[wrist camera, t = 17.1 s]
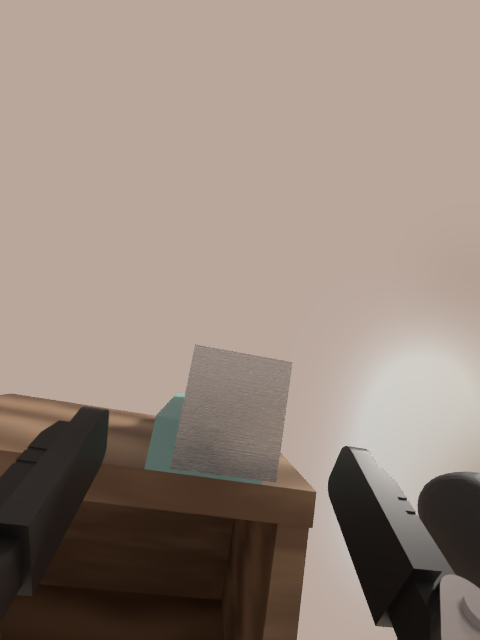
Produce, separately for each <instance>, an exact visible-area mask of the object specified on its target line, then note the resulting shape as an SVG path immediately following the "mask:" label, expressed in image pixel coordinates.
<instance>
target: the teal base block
mask: <svg viewBox="0 0 480 640" xmlns="http://www.w3.org/2000/svg"><path fill="white" fill-rule="evenodd" d="M184 398H185V394H182V393H177V394H176V395H175V396H174V397H173V398H172V399H171V400H170V401H169V403H167V405H166V406H165V407H164V408H163V409H162V410H161V411H160V412H159V413H158V414H157V415H156V418H155V423H154V427H153V432H152V436H151V441H150V446H149V450H148V455H147V459H146V464H145V468H144V469H147V470H155V471H162V472H170V473H177V474H185V475H192V476H200V477H208V478H215V479H223V480H230V481H238V482H245V483H253V484H260V485H261V484H262V481H259V480H252V479H244V478H237V477H229V476H222V475H214V474H207V473H199V472H192V471H184V470H177V469H170V467H171V462H172V457H173V452H174V447H175V442H176V437H177V432H178V427H179V422H180V417H181V412H182V407H183V402H184Z"/></svg>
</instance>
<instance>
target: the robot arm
mask: <svg viewBox="0 0 480 640" xmlns="http://www.w3.org/2000/svg"><path fill="white" fill-rule="evenodd" d="M108 424H109V410H108V409H102V408H95V407H89V406H82V407H81V408H80V409H79V410H78V412H77V413H76V414H75V415H74V417H73V418H72V419H71V420H70V422H68V421H61V420H59V421H57V422H56V423H54V424H53V425H51V426H49V427H48V428H46V429H45V430H43V431H41V432H40V433H39V435H38V436H37V437H36V438H35V439H34V440H33V441H32V442H31V443H30V445H29V446H28V448H27V450H24V451H23V452H22V454H21V455H20V456H19V457H18V458H17V459H16V462H15V463H13V464H12V465H11V466H10V467H9V468H8V469H7V470H6V471H5V472H4V474H3V475H2V476H1V477H0V640H2V631H1V621H2V619H3V617H4V616H5V614H6V612H7V610H8V609H9V607H10V605H11V603H12V602H13V600H14V598H15V596H16V595H21V596H33V594H34V592H35V590H36V588H37V587H38V585H39V583H40V581H41V579H42V577H43V575H44V573H45V571H46V570H47V568H48V566H49V564H50V562H51V560H52V558H53V556H54V554H55V552H56V551H57V549H58V547H59V545H60V543H61V541H62V539H63V537H64V535H65V533H66V532H67V530H68V528H69V526H70V524H71V522H72V520H73V518H74V516H75V514H76V513H77V511H78V509H79V507H80V505H81V503H82V501H83V499H84V497H85V495H86V494H87V492H88V490H89V488H90V486H91V484H92V482H93V480H94V478H95V476H96V475H97V473H98V471H99V469H100V467H101V465H102V462H103V459H104V456H105V453H106V448H107V438H108ZM328 492H329V497H330V500H331V503H332V506H333V509H334V511H335V514H336V516H337V520H338V522H339V525H340V528H341V531H342V534H343V536H344V539H345V542H346V545H347V547H348V550H349V553H350V556H351V559H352V561H353V564H354V567H355V570H356V573H357V575H358V578H359V581H360V583H361V587H362V589H363V592H364V595H365V598H366V600H367V603H368V606H369V609H370V611H371V614H372V617H373V620H374V622H375V625H376V626H382V627H393V628H394V631H395V633H396V636H397V638H398V639H397V640H480V473H476V472H455V473H448V474H444V475H440V476H438V477H436V478H434V479H432V480H431V481H430V482H429V483H427V484H426V485H425V486H424V488H423V490H422V491H421V493H420V495H419V499H418V514H419V517H418V515H416V514H415V510H414V509H413V507H412V506H411V504H410V502H409V501H407V498H406V496H405V495H404V493H403V491H402V490H401V488H400V487H399V485H398V484H397V482H396V481H395V480H394V479H393V478H392V477H391V476H390V475H389V474H388V473H387V472H386V471H385V470H384V469H383V468H380V467H379V466H378V464H377V463H376V461H375V460H374V458H373V456H372V454H371V453H370V452H369V451H368V450H367V449H362V448H355V447H348V446H345V447H343V448H342V449H341V452H340V454H339V456H338V458H337V461H336V463H335V466H334V468H333V470H332V472H331V475H330V477H329V481H328Z"/></svg>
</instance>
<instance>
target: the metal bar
mask: <svg viewBox="0 0 480 640" xmlns="http://www.w3.org/2000/svg"><path fill="white" fill-rule="evenodd" d="M291 367H292V362H288V361H282V360H277V359H271V358H266V357H260V356H254V355H249V354H244V353H237V352H233V351H226V350H221V349H215V348H210V347H205V346H200V345H195V348H194V353H193V359H192V363H191V368H190V373H189V378H188V383H187V388H186V393H185V398H184V402H183V407H182V412H181V417H180V422H179V427H178V432H177V437H176V442H175V447H174V452H173V457H172V462H171V467H170V469H177V470H184V471H192V472H199V473H207V474H214V475H222V476H229V477H237V478H244V479H252V480H259V481H267V482H274V483H276V480H277V473H278V465H279V458H280V450H281V443H282V435H283V428H284V420H285V412H286V405H287V398H288V390H289V383H290V375H291Z"/></svg>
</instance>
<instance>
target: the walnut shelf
mask: <svg viewBox="0 0 480 640" xmlns="http://www.w3.org/2000/svg"><path fill="white" fill-rule="evenodd" d="M82 406H88V405H81V404H75V403H69V402H62V401H56V400H49V399H42V398H36V397H30V396H23V395H16V394H6V395H0V477H1V476H2V475H3V474H4V472H5V471H6V470H7V469H8V468H9V467H10V466H11V465H12V464H13V463H15V462H16V459H17V458H18V457H19V456H20V455H21V454H22V452H23V451H24V450H27V448H28V446H29V445H30V443H31V442H32V441H33V440H34V439H35V438H36V437H37V436H38V435H39V433H40V432H41V431H43V430H45V429H46V428H48V427H49V426H51V425H53V424H54V423H56V422H57V421H59V420H61V421H68V422H70V420H71V419H72V418H73V417H74V415H75V414H76V413H77V412H78V410H79V409H80V408H81V407H82ZM89 407H94V406H89ZM95 408H101V407H95ZM102 409H107V408H102ZM108 410H109V424H108V438H107V448H106V453H105V456H104V459H103V462H102V465H101V467H100V469H99V471H98V473H97V475H96V476H95V478H94V480H93V482H92V484H91V486H90V488H89V490H88V492H87V494H86V495H85V497H84V499H83V501H82V503H81V505H80V507H79V509H78V511H77V513H76V514H75V516H74V518H73V520H72V522H71V524H70V526H69V528H68V530H67V532H66V533H65V535H64V537H63V539H62V541H61V543H60V545H59V547H58V549H57V551H56V552H55V554H54V556H53V558H52V560H51V562H50V564H49V566H48V568H47V570H46V571H45V573H44V575H43V577H42V579H41V581H40V583H39V585H38V587H37V588H36V590H35V592H34V594H33V596H21V595H16V596H15V598H14V600H13V602H12V603H11V605H10V607H9V609H8V610H7V612H6V614H5V616H4V617H3V619H2V621H1V631H2V640H297V630H298V621H299V612H300V603H301V594H302V585H303V575H304V566H305V557H306V548H307V539H308V530H309V528H312V527H313V517H314V508H315V499H316V491H315V490H314V489H313V488H312V487H311V486H310V485H309V484H308V482H307V481H306V480H305V479H304V478H303V477H302V476H301V475H300V474H299V472H298V471H297V470H296V469H295V468H294V467H293V466H292V465H291V464H290V463H289V462H288V460H287V459H286V458H285V457H284V456H283V455H282V454H281V453H280V458H279V465H278V473H277V480H276V483H274V482H267V481H262V484H261V485H260V484H253V483H245V482H238V481H230V480H223V479H215V478H208V477H200V476H192V475H185V474H177V473H170V472H162V471H155V470H147V469H144V468H145V464H146V459H147V455H148V450H149V446H150V441H151V436H152V432H153V427H154V423H155V418H156V416H154V415H147V414H141V413H133V412H128V411H121V410H114V409H108Z"/></svg>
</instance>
